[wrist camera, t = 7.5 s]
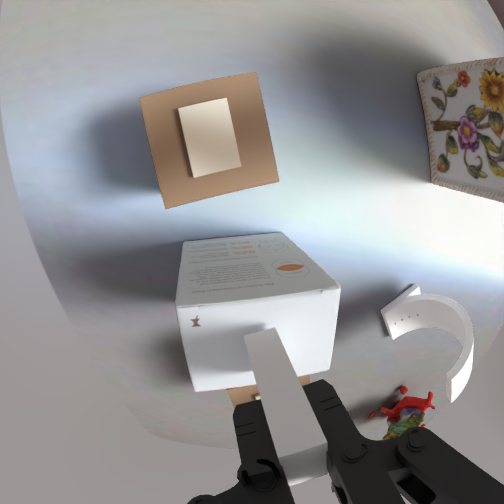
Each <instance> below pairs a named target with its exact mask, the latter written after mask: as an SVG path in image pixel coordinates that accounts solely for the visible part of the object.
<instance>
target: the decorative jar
mask: <svg viewBox="0 0 504 504" xmlns="http://www.w3.org/2000/svg"><path fill="white" fill-rule="evenodd" d="M417 82H418V86H419V90H420V95H421V100H422V104H423V109H424V114H425V122H426V130H427V138H428V145H429V153H430V164H431V182H432V183H433V184H434V185H439V186H442V187H446V188H449V189H453V190H457V191H461V192H466V193H468V194H473V195H476V196H480V197H484V198H488V199H492V200H495V201H499V202H503V203H504V57H502V58H490V59H484V60H475V61H469V62H462V63H456V64H451V65H445V66H440V67H436V68H431V69H428V70H424V71H421V72H419V73H418V74H417Z"/></svg>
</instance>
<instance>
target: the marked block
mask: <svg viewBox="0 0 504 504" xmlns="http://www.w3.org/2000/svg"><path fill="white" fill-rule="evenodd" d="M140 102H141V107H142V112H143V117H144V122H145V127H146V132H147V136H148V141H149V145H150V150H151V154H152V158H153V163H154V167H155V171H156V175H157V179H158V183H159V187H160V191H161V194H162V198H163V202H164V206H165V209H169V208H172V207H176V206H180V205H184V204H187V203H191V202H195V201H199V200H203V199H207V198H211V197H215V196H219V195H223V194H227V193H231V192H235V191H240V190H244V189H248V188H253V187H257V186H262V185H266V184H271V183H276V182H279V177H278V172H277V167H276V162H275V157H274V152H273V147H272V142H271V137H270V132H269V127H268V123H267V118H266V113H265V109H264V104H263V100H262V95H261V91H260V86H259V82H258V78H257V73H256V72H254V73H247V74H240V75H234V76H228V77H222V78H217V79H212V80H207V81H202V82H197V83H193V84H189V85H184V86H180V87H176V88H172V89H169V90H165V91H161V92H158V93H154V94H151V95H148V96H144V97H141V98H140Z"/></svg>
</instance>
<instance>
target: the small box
mask: <svg viewBox="0 0 504 504" xmlns="http://www.w3.org/2000/svg"><path fill="white" fill-rule="evenodd" d="M340 291H341V287H340V285H339V284H338V283H337V282H336V281H335V280H334V279H332V278H331V277H330V276H329V275H328V274H327V273H326V272H325V271H324V270H323V269H322V268H321V267H320V266H319V265H318V264H317V263H316V262H314V261H313V260H312V259H311V258H310V257H309V256H308V255H307V254H306V253H305V252H304V251H302V250H301V249H300V248H299V247H298V246H297V245H296V244H295V243H294V242H292V241H291V240H290V239H289V238H288V237H287V236H286V235H285V234H284V233H282V232H278V233H268V234H257V235H246V236H236V237H225V238H215V239H206V240H195V241H185V242H183V247H182V255H181V263H180V270H179V277H178V283H177V292H176V301H175V309H176V314H177V319H178V324H179V329H180V333H181V338H182V343H183V347H184V351H185V356H186V360H187V365H188V369H189V373H190V377H191V381H192V385H193V389H194V391H195V392H201V391H211V390H220V389H228V388H235V387H242V386H249V385H256V380H255V377H254V373H253V369H252V366H251V362H250V358H249V355H248V351H247V347H246V344H245V340H244V336H245V335H248V334H252V333H256V332H259V331H263V330H267V329H270V328H274V327H275V328H276V330H277V332H278V335H279V337H280V339H281V341H282V344H283V346H284V348H285V350H286V352H287V355H288V357H289V359H290V361H291V364H292V366H293V368H294V370H295V372H296V375H297V377H299V376H304V375H309V374H313V373H318V372H322V371H327V370H329V368H330V363H331V357H332V350H333V344H334V337H335V331H336V323H337V316H338V308H339V300H340Z"/></svg>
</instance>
